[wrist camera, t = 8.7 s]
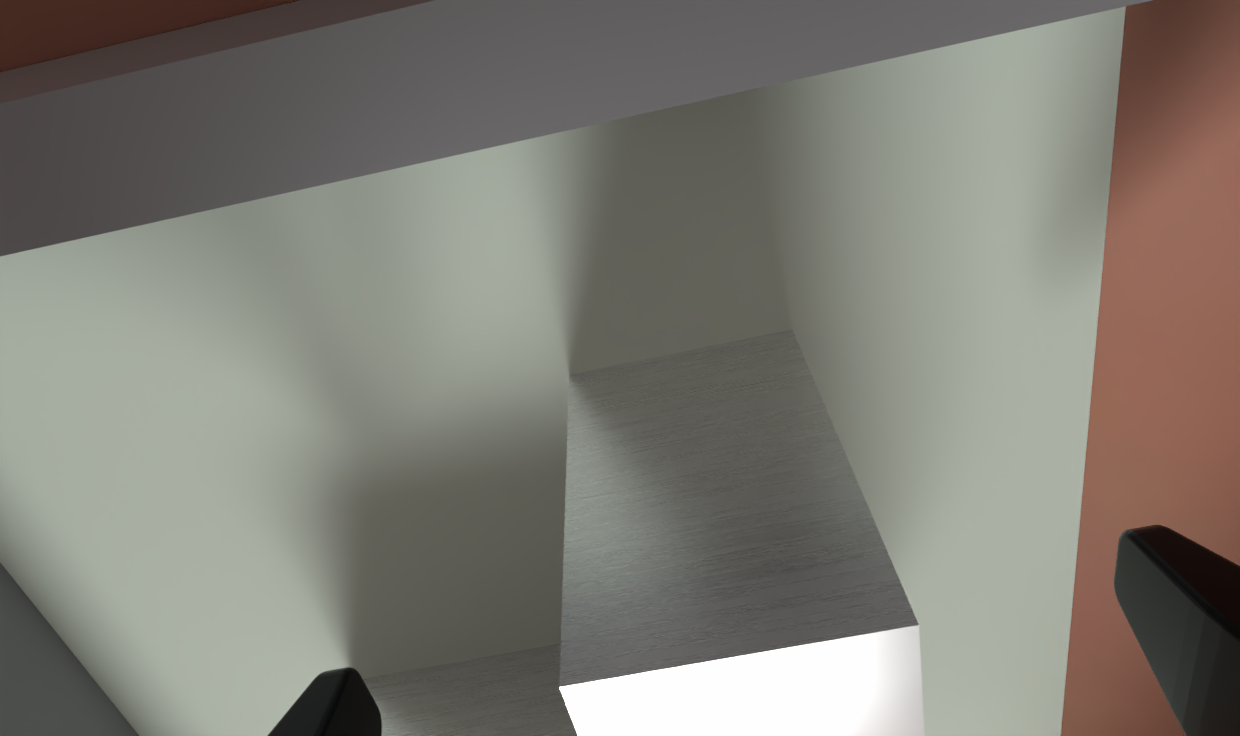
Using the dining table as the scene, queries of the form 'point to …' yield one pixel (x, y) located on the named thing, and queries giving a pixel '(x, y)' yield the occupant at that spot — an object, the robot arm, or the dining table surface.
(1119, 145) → the dining table surface
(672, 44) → the corner walls
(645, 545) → the bracket
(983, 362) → the mat
